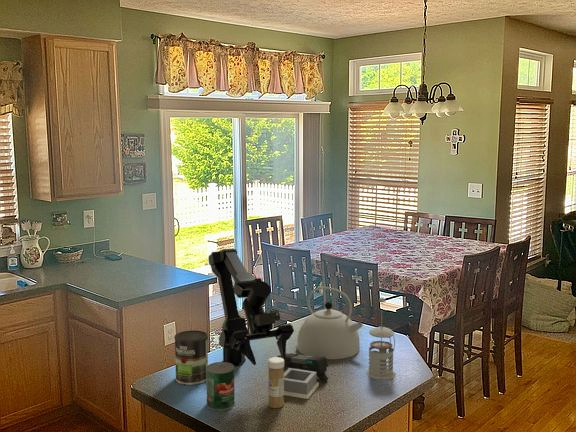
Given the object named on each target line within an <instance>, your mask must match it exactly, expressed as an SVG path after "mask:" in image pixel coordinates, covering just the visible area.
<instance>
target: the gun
mask: <svg viewBox="0 0 576 432" xmlns="http://www.w3.org/2000/svg"><path fill="white" fill-rule="evenodd" d="M276 357H280V358H282V357H281V354H279V355H277V356H276ZM284 367H286V368H287V369H288V368H293V369H300V370H307V371H314V372H317V378H318V380H319V381H320V382H321V383H326V382H328V380H329V377H328V376H327V374H326V372H327V370H328V369H327V368H328V367H329V362H328V359H327V358H325V357H318V356H306V355H304V354H299V353H292V352H291V353H286V359H285V360H284Z"/></svg>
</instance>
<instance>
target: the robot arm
mask: <svg viewBox="0 0 576 432" xmlns="http://www.w3.org/2000/svg"><path fill="white" fill-rule="evenodd" d="M207 261H208V264H209V266H210V269H211V272H212V273H213V274H214V276H216V277H217V281H218V285H219V293H220V297H221V302H222V308H223V314H224V321H223V323H222V326H221V332H220V334H219V335H218V336H219V337H218V343H219V346H220V347H222V355H223V356H222V360H221V362H228V363H231V364H233V365H234V367H239V366H240V365H241V364H243V363H244V362H245V361H246V360H247V359H248V360H249V361H250V363H251V364H252V365H253V366H256V365H257V361H256V357H255V354H254V352H253V349H252V346H251V341H255V340H262V339H263V340H264V339H268V338H275V340H277V341H276V345H277V348H278V351H279V353H280V354H279V355H281V357H282V358H283V359H284V360H285V359H286V351H287V341H288V340H289V339H290V338H291V336H292V335H293V333H294V331H295V329H294V327H293V325H292V324H291V323H284V324H279V325H278V326H277V328H276V329H273V330H271V329H272V328H273V324H276V322H278V321H280V320H281V316H280V311H279V309H272V310H270V312H267V311H265V310H264V306H265V304H266V302H267V300H268V298H269V297H270V295H271V292H272V291H271V290H272V289H271V286H270V285H269V284H268V283H267V282H265V281H263V280H262V278H260V277H258V278H257V277H256V276H255V275H254V274H252V273H249V272H248V271H247V270H246V267H245V266H244V264H243V263H242V261H241V258H240V257H239V256H238V250H237V249H236V248H224V249H221V250H219V251H212V252H211V254H209V255H208V260H207ZM233 281H234V283H233ZM236 298H238V299H243V298H244V299H243V301H242V303H241V305H242V306H241V309H242V311H243V310H244V315H245V318H246V319H245V318H244V317H242V316H241V315H240V314H239V309H238V304H237V299H236ZM246 321H247V322H246ZM248 328H249V329H248ZM246 358H247V359H246Z"/></svg>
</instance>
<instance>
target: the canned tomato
mask: <svg viewBox="0 0 576 432" xmlns="http://www.w3.org/2000/svg"><path fill="white" fill-rule="evenodd" d="M206 375H207V376H206V378H207V379H206V407H207V406H208V407H209V408H208V407H207V408H208V409H209V410H212V409H213V410H212V411H225V410H229V409H231V408H233V407H234V406H235V403H236V402H235V366H234V365H233V364H231V363H228V362H222V361H218V362H217V361H215V362H212V363H208V366H207V367H206Z"/></svg>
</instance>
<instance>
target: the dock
mask: <svg viewBox="0 0 576 432" xmlns="http://www.w3.org/2000/svg"><path fill="white" fill-rule="evenodd" d="M317 378H318V377H317V372H314V371H307V370H300V369H295V368H294V369H293V368H287V370H285V371H284V396H288V397H293V398H294V397H295V398H300V399H307V400H308V399H309V398H310V397H312V394H314V392H315V391H316V390H317V389H318V388H319V384H320V383H319V381H318V380H317Z"/></svg>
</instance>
